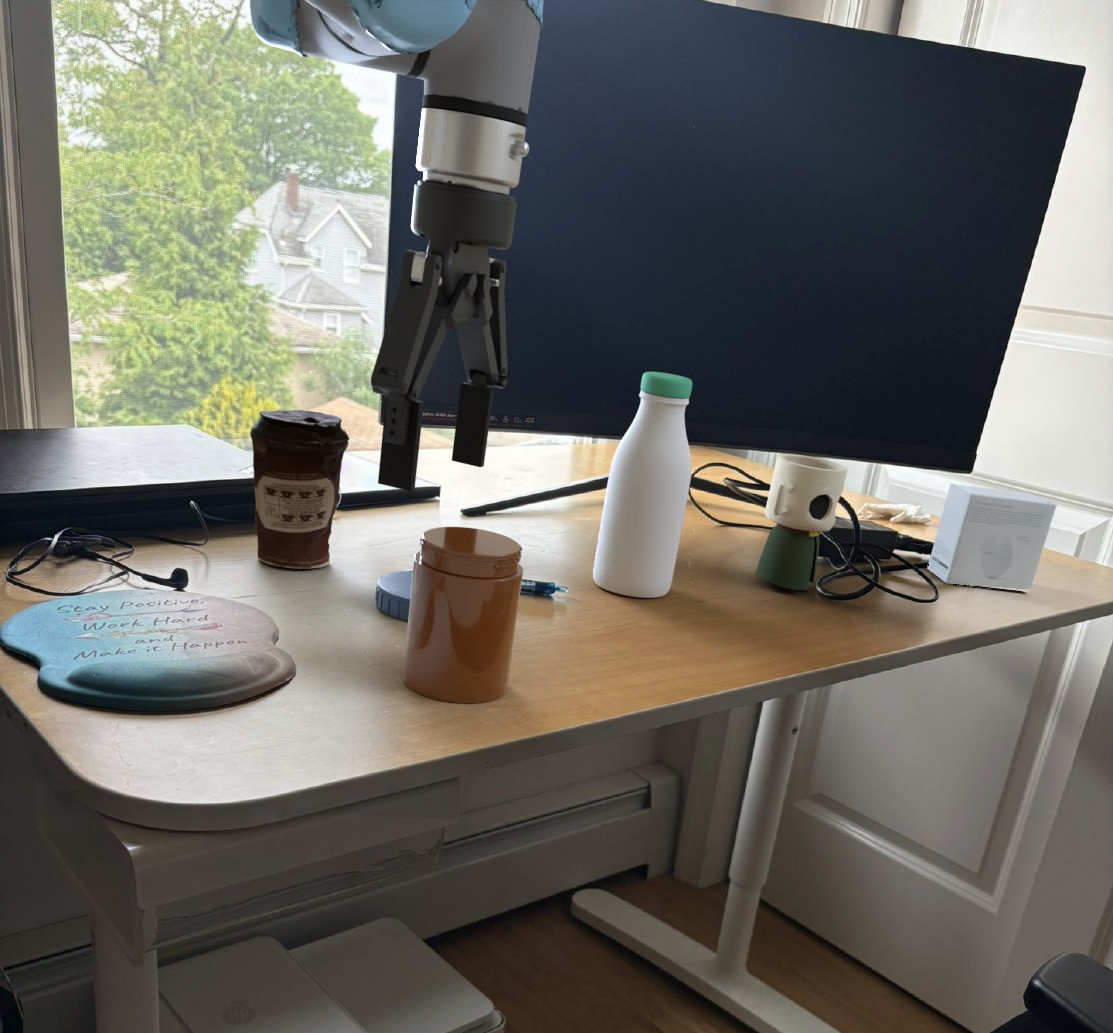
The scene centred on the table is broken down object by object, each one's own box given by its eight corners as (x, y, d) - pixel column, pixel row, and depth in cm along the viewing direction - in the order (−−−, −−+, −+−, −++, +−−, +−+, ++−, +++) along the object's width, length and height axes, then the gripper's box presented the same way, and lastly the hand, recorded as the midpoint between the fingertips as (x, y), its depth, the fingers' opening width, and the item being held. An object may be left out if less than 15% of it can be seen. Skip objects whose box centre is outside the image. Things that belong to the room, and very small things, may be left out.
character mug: (785, 603, 113) (816, 473, 108) (726, 582, 117) (754, 456, 112) (837, 589, 121) (869, 467, 116) (780, 569, 125) (808, 451, 120)
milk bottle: (673, 604, 108) (715, 387, 99) (592, 593, 107) (628, 374, 99) (665, 580, 115) (704, 376, 106) (589, 570, 114) (623, 363, 106)
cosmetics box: (1006, 578, 137) (1034, 492, 133) (1030, 594, 131) (1060, 505, 127) (924, 567, 136) (949, 480, 132) (944, 584, 130) (971, 493, 126)
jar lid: (450, 632, 92) (452, 610, 91) (357, 608, 94) (359, 586, 93) (489, 606, 99) (492, 586, 98) (402, 585, 101) (404, 564, 100)
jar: (406, 700, 78) (420, 551, 74) (399, 659, 85) (412, 520, 81) (514, 706, 80) (534, 561, 76) (499, 665, 87) (517, 530, 82)
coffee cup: (345, 579, 100) (355, 430, 95) (247, 573, 98) (252, 420, 92) (335, 550, 108) (345, 410, 102) (245, 544, 105) (249, 400, 100)
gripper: (443, 176, 71) (407, 510, 80) (569, 205, 93) (531, 464, 102) (336, 158, 73) (313, 486, 81) (485, 190, 95) (454, 446, 103)
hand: (434, 474), depth 92 cm, fingers open, 13 cm apart
